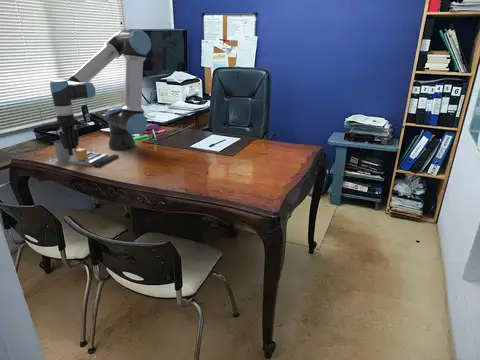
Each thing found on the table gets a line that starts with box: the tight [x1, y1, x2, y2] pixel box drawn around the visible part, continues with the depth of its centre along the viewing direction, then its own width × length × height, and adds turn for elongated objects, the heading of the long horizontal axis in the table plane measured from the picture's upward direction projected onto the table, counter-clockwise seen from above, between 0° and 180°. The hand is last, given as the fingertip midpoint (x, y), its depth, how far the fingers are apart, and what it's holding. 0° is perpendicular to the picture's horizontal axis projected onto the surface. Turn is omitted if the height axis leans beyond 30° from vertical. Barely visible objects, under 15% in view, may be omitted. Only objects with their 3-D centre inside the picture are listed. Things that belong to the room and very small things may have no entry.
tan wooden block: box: [76, 147, 88, 161], centre depth 176 cm, size 4×4×5 cm
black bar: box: [93, 153, 119, 168], centre depth 179 cm, size 17×3×2 cm, turn 163°
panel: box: [67, 151, 110, 167], centre depth 181 cm, size 14×14×3 cm
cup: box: [53, 139, 70, 163], centre depth 181 cm, size 8×8×10 cm
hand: (74, 160), depth 171 cm, fingers closed
